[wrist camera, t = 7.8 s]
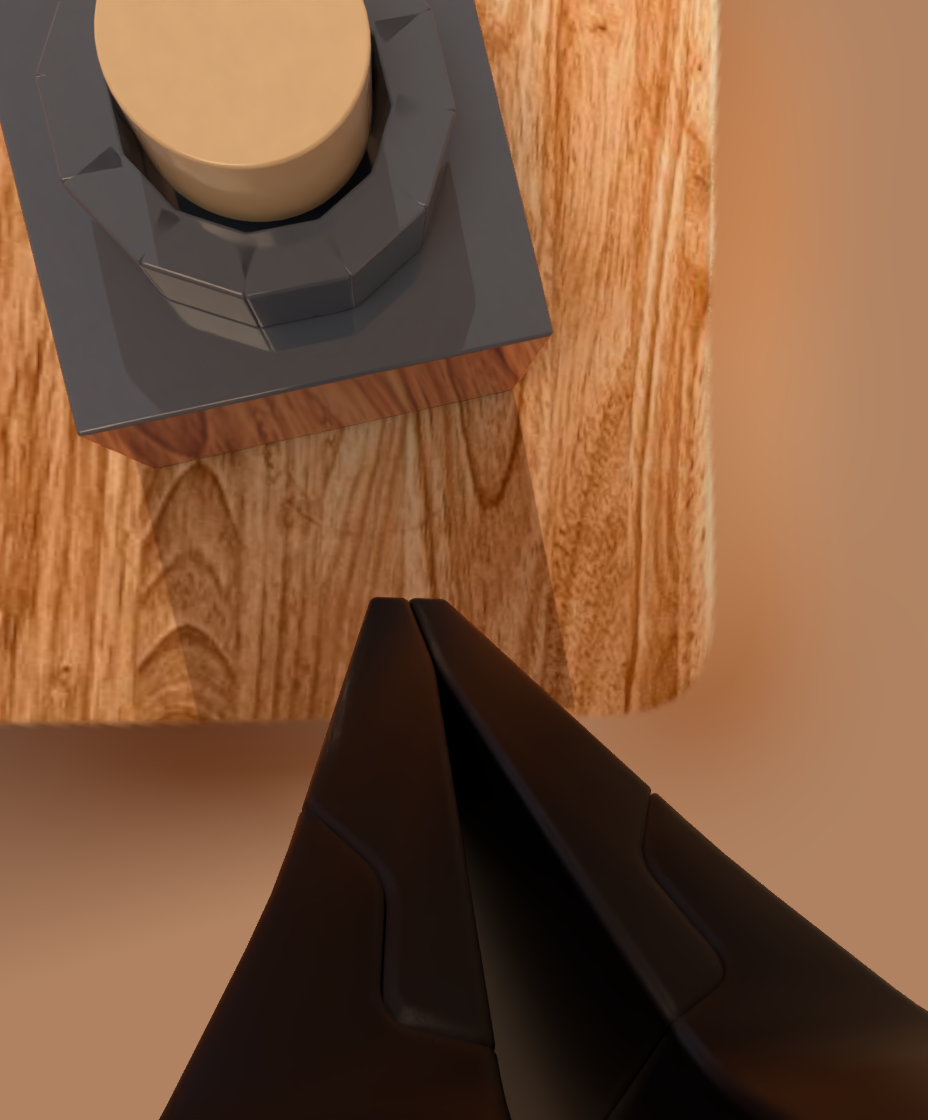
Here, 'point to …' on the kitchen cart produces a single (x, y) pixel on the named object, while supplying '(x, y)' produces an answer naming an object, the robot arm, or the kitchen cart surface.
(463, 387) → the grey button base
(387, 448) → the kitchen cart surface
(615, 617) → the kitchen cart surface
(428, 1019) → the robot arm
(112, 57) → the tan push button
